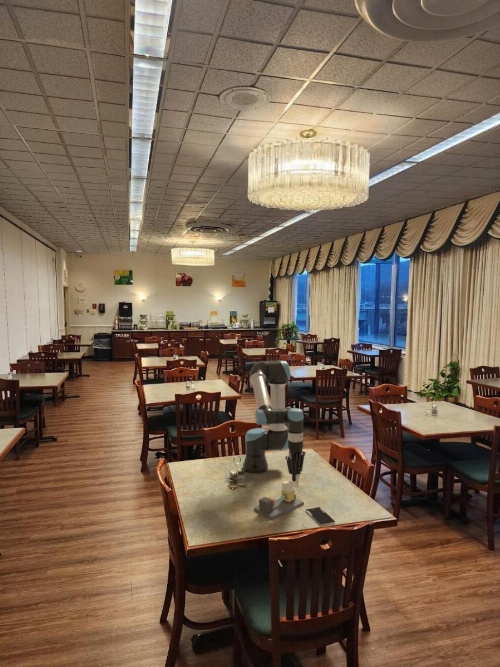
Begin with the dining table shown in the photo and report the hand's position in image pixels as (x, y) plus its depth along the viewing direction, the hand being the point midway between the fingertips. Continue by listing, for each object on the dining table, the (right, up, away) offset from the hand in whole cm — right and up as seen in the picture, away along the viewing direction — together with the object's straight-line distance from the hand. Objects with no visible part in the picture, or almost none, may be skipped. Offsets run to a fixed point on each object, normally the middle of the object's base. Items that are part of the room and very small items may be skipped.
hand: (295, 486), depth 205 cm
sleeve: (-4, -5, -3) cm, 7 cm away
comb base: (-9, -7, -7) cm, 13 cm away
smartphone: (+9, -8, -17) cm, 21 cm away
